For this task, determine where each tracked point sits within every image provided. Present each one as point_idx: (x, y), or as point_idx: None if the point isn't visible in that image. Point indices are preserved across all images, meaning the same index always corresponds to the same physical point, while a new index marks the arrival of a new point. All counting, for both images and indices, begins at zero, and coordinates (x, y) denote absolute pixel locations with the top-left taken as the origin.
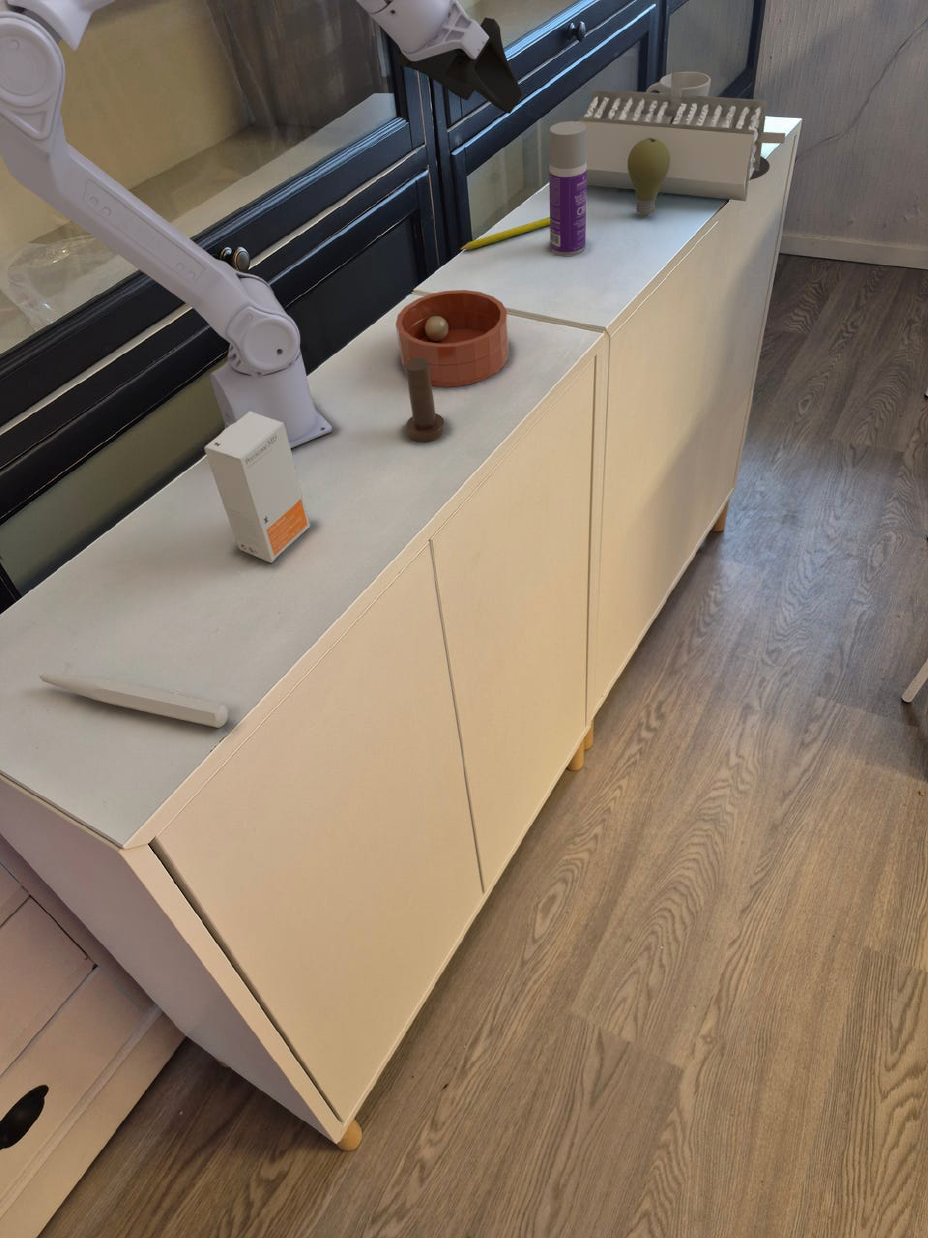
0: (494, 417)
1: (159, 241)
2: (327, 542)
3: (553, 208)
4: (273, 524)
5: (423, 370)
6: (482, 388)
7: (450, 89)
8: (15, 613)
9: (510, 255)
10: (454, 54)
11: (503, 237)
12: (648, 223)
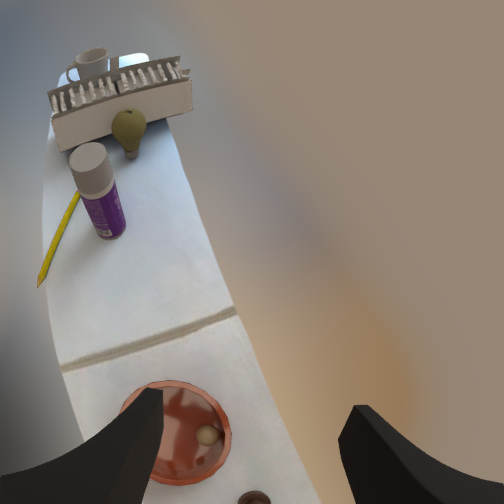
0: (276, 457)
1: None
2: None
3: (97, 218)
4: None
5: None
6: (235, 442)
7: (151, 470)
8: None
9: (77, 265)
10: (131, 464)
11: (55, 248)
12: (142, 163)
